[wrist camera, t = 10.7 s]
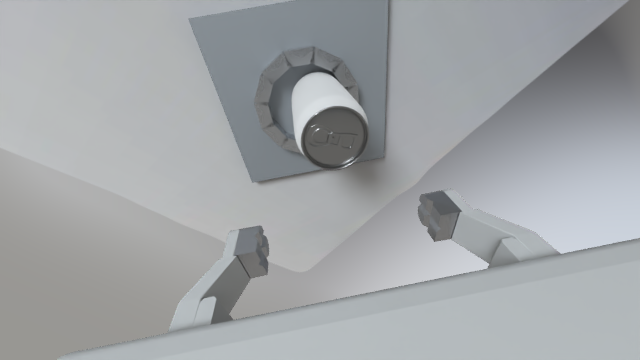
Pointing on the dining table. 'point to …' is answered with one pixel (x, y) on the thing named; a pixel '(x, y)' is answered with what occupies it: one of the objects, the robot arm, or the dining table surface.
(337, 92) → the can
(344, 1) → the board
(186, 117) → the dining table surface
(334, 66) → the collar
